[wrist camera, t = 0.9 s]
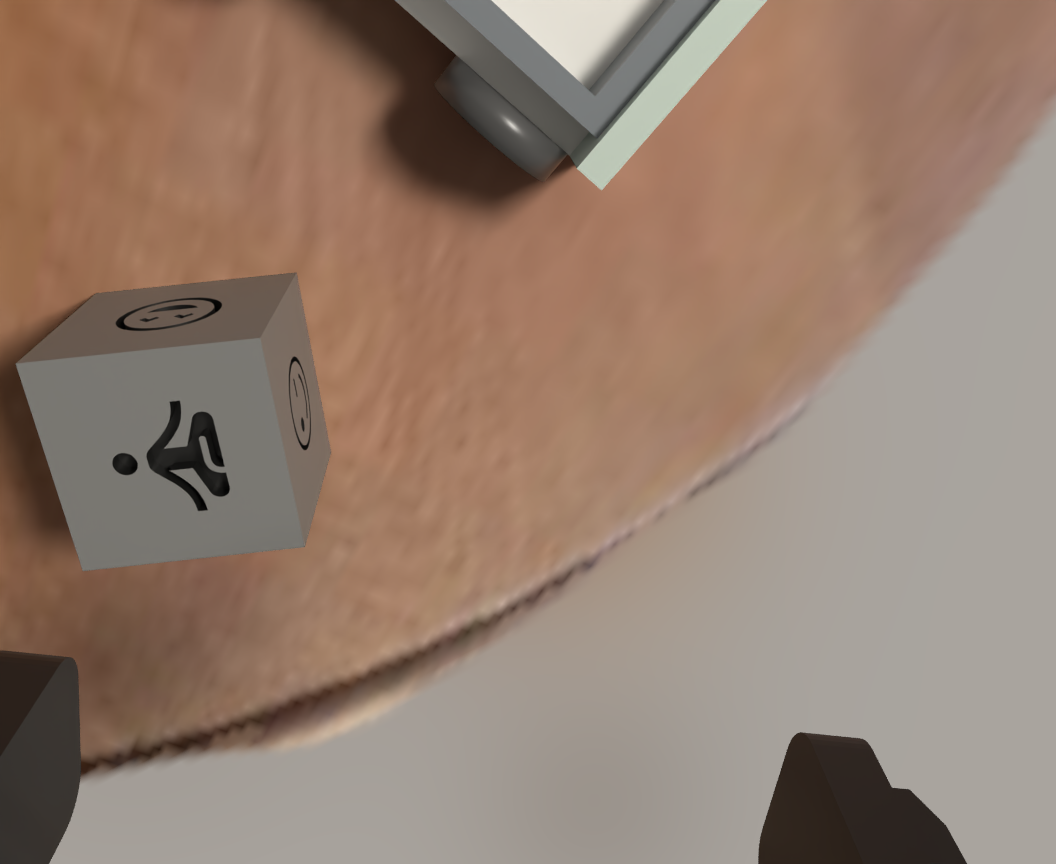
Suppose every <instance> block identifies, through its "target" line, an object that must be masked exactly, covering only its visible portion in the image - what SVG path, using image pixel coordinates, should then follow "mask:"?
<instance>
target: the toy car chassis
mask: <svg viewBox="0 0 1056 864" xmlns="http://www.w3.org/2000/svg"><path fill="white" fill-rule="evenodd" d="M395 1H396V2H397V3H398V4H400V5H401V6H402V7H403V8H404V9H405V10H406V11H407V12H409V13H410V14H411V15H412V16H413V17H414V18H415V19H416V20H418V21H419V22H420V23H421V24H422V25H423V26H424V27H425V28H427V29H428V30H429V31H430V32H431V33H432V34H433V35H434V36H436V37H437V38H438V39H439V40H440V41H441V42H442V43H443V44H445V45H446V46H447V47H448V48H449V49H450V50H451V51H452V52H454V53H455V54H456V56H455V58H454V59H453V60H452V62H451V63H450V64H449V65H448V67H447V68H446V69H445V70H444V72H443V73H442V74H441V76H440V77H439V78H438V79H437V81H436V82H435V83H434V86H435V88H436V89H437V91H438V92H439V93H440V94H441V95H442V97H443V98H444V99H445V100H446V101H447V102H448V103H449V104H450V105H451V106H452V107H453V108H454V109H455V110H456V111H457V112H458V113H459V114H460V115H461V116H462V117H463V118H464V119H465V120H466V121H467V122H468V123H469V124H470V125H471V126H472V127H473V128H475V129H476V130H477V131H478V132H479V133H480V134H481V135H482V136H483V137H485V138H486V139H487V140H488V141H489V142H490V143H491V144H492V145H494V146H495V147H496V148H497V149H498V150H500V151H501V152H502V153H503V154H504V155H506V156H507V157H508V158H509V159H510V160H512V161H513V162H514V163H515V164H517V165H518V166H519V167H521V168H522V169H523V170H525V171H526V172H527V173H529V174H530V175H532V176H533V177H535V178H536V179H538V180H540V181H542V182H545V181H546V179H547V178H548V177H549V176H550V175H551V173H552V172H553V171H554V170H555V169H556V168H557V166H558V165H559V164H560V163H561V162H562V161H563V159H564V158H565V157H566V156H567V155H569V156H570V157H571V159H572V161H573V162H574V164H575V166H576V168H577V169H578V170H579V171H580V172H582V173H583V174H584V175H585V176H586V177H587V178H588V179H589V180H591V181H592V182H593V183H594V184H595V185H596V186H597V187H598V188H600V189H601V190H602V189H603V188H604V187H605V186H606V185H607V184H608V182H609V181H610V180H611V179H612V178H613V177H614V176H615V174H616V173H617V172H618V171H619V170H620V169H621V168H622V166H623V165H624V164H625V163H626V162H627V161H628V159H629V158H630V157H631V156H632V155H633V154H634V153H635V151H636V150H637V149H638V148H639V147H640V146H641V145H642V143H643V142H644V141H645V140H646V139H647V138H648V136H649V135H650V134H651V133H652V132H653V131H654V130H655V128H656V127H657V126H658V125H659V124H660V123H661V122H662V120H663V119H664V118H665V117H666V116H667V115H668V114H669V112H670V111H671V110H672V109H673V108H674V107H675V105H676V104H677V103H678V102H679V101H680V100H681V99H682V97H683V96H684V95H685V94H686V93H687V92H688V91H689V89H690V88H691V87H692V86H693V85H694V84H695V82H696V81H697V80H698V79H699V78H700V77H701V76H702V74H703V73H704V72H705V71H706V70H707V69H708V68H709V66H710V65H711V64H712V63H713V62H714V61H715V60H716V58H717V57H718V56H719V55H720V54H721V53H722V51H723V50H724V49H725V48H726V47H727V46H728V45H729V43H730V42H731V41H732V40H733V39H734V38H735V37H736V35H737V34H738V33H739V32H740V31H741V30H742V29H743V27H744V26H745V25H746V24H747V23H748V22H749V20H750V19H751V18H752V17H753V16H754V15H755V14H756V12H757V11H758V10H759V9H760V8H761V7H762V6H763V4H764V3H765V2H766V1H767V0H395Z"/></svg>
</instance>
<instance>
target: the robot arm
mask: <svg viewBox="0 0 1056 864" xmlns="http://www.w3.org/2000/svg"><path fill="white" fill-rule="evenodd" d="M80 774H81V754H80V720H79V686H78V669H77V665H76V662H75V660H74V659H73V658H71V657H62V656H52V655H42V654H32V653H22V652H12V651H0V864H49V863H50V861H51V859H52V857H53V855H54V853H55V851H56V849H57V847H58V845H59V843H60V841H61V839H62V837H63V835H64V833H65V831H66V829H67V827H68V824H69V822H70V819H71V816H72V813H73V810H74V807H75V803H76V799H77V795H78V789H79V783H80ZM758 858H759V859H758V860H759V861H758V862H759V863H758V864H967V863H966V861H965V859H964V857H963V856H962V854H961V852H960V850H959V848H958V846H957V845H956V843H955V841H954V839H953V838H952V836H951V834H950V832H949V830H948V828H947V827H946V825H944V823H943V822H942V821H941V820H940V819H939V818H938V817H937V816H936V815H935V814H934V813H933V812H932V811H931V810H930V809H929V808H928V807H926V805H925V804H923V803H922V801H921V800H920V799H919V798H917V797H916V796H915V795H914V794H913V793H912V791H910V790H909V789H898V788H892V787H891V785H890V783H889V781H888V779H887V777H886V775H885V773H884V772H883V769H882V767H881V766H880V763H879V762H878V760H877V758H876V756H875V754H874V752H873V750H872V748H871V746H870V745H869V744H868V743H867V742H866V741H865V740H863V739H860V738H851V737H841V736H830V735H820V734H811V733H801V732H800V733H797V734H796V735H795V736H794V737H793V738H792V740H791V742H790V744H789V746H788V749H787V752H786V755H785V759H784V762H783V765H782V768H781V772H780V775H779V778H778V781H777V784H776V787H775V791H774V794H773V797H772V800H771V803H770V807H769V810H768V813H767V816H766V820H765V823H764V826H763V829H762V833H761V837H760V844H759V856H758Z"/></svg>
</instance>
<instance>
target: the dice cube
mask: <svg viewBox="0 0 1056 864" xmlns="http://www.w3.org/2000/svg"><path fill="white" fill-rule="evenodd" d="M16 367H17V370H18V373H19V376H20V379H21V382H22V385H23V388H24V391H25V394H26V397H27V401H28V404H29V407H30V410H31V413H32V416H33V419H34V422H35V425H36V428H37V431H38V434H39V437H40V441H41V444H42V447H43V450H44V453H45V456H46V459H47V462H48V465H49V468H50V471H51V474H52V477H53V481H54V484H55V487H56V490H57V493H58V496H59V499H60V502H61V505H62V508H63V511H64V514H65V517H66V521H67V524H68V527H69V530H70V533H71V536H72V539H73V542H74V545H75V548H76V551H77V554H78V558H79V561H80V564H81V567H82V570H83V571H88V570H97V569H106V568H115V567H125V566H134V565H143V564H152V563H162V562H171V561H180V560H189V559H199V558H208V557H217V556H226V555H236V554H245V553H254V552H263V551H273V550H282V549H291V548H300V547H305V545H306V541H307V537H308V534H309V530H310V526H311V523H312V519H313V516H314V512H315V508H316V505H317V501H318V498H319V494H320V490H321V487H322V483H323V479H324V476H325V472H326V469H327V465H328V461H329V458H330V454H331V449H330V444H329V439H328V433H327V428H326V423H325V418H324V413H323V407H322V402H321V397H320V392H319V387H318V381H317V376H316V371H315V366H314V361H313V355H312V350H311V345H310V340H309V335H308V329H307V324H306V319H305V314H304V309H303V303H302V298H301V293H300V288H299V282H298V277H297V272H296V273H287V274H277V275H268V276H258V277H248V278H239V279H229V280H220V281H210V282H200V283H191V284H181V285H172V286H162V287H152V288H143V289H133V290H124V291H114V292H104V293H96V294H95V295H94V296H92V297H91V298H90V299H89V300H88V301H87V302H85V303H84V304H83V305H82V306H81V307H80V308H79V309H77V310H76V311H75V312H74V313H73V314H72V315H71V316H69V317H68V318H67V319H66V320H65V321H64V322H63V323H61V324H60V325H59V326H58V327H57V328H56V329H55V330H53V331H52V332H51V333H50V334H49V335H48V336H47V337H45V338H44V339H43V340H42V341H41V342H40V343H39V344H37V345H36V346H35V347H34V348H33V349H32V350H31V351H29V352H28V353H27V354H26V355H25V356H24V357H23V358H21V359H20V360H19V361H18V362H17V363H16Z"/></svg>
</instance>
